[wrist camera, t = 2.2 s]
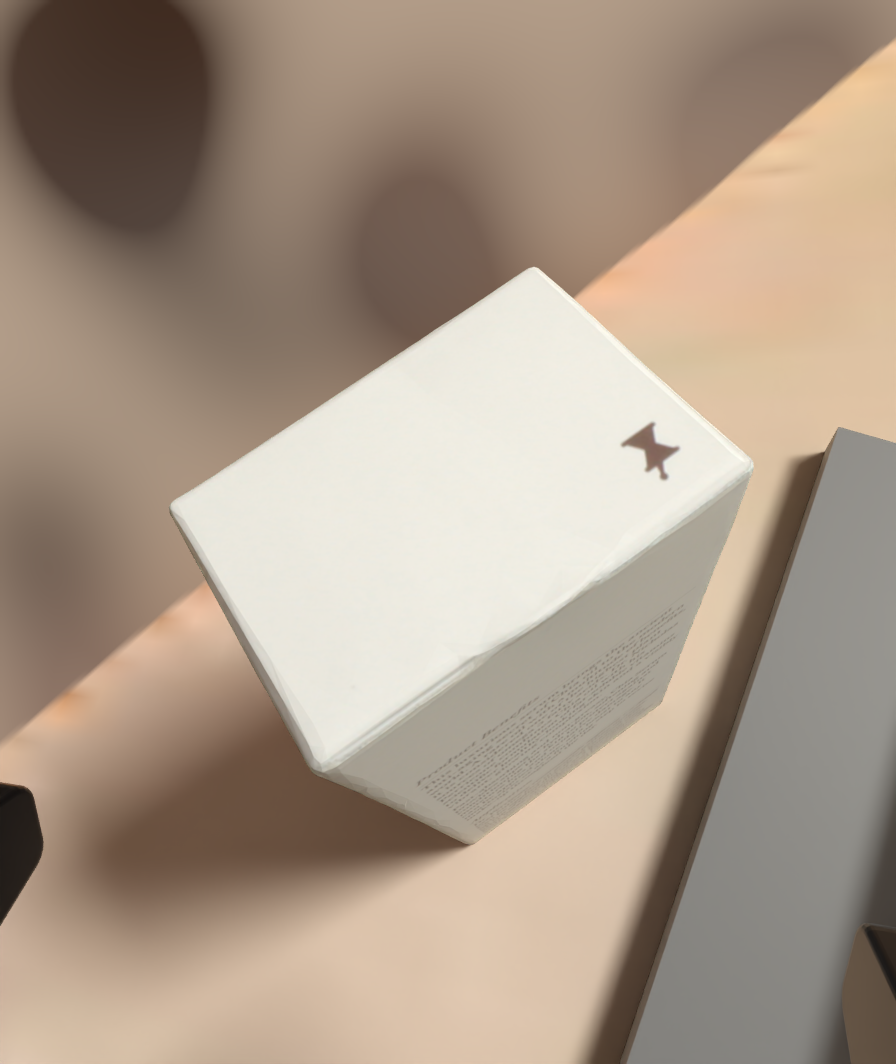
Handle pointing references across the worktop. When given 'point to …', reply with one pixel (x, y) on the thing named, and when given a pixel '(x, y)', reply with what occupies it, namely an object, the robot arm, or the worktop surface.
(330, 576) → the skincare box
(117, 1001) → the worktop surface
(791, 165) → the worktop surface
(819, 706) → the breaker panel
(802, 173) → the worktop surface
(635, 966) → the worktop surface
